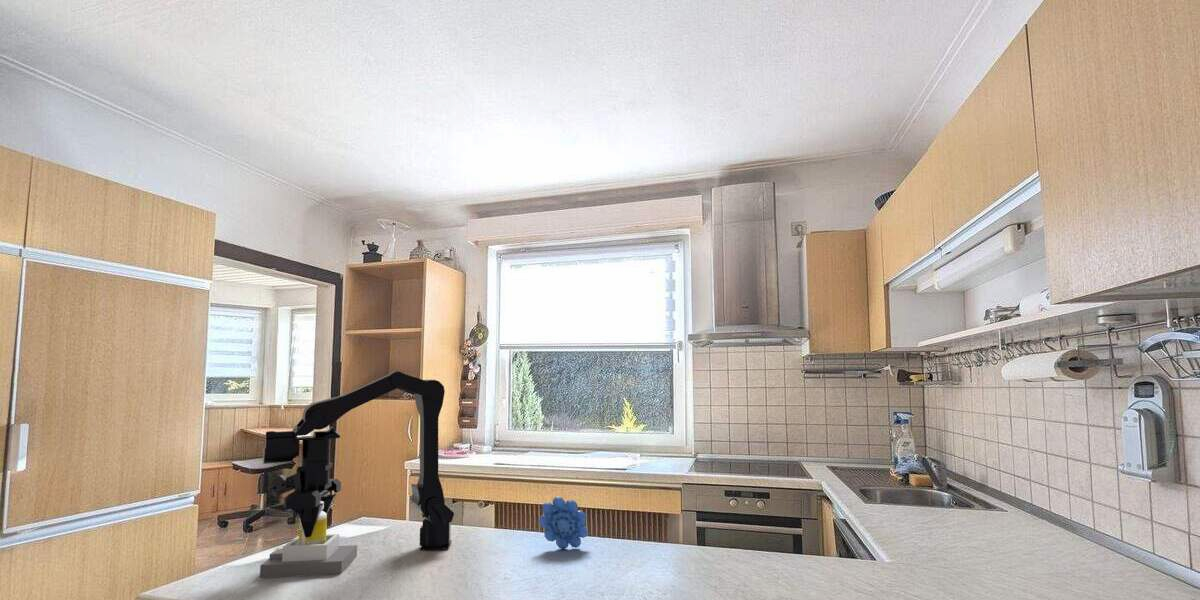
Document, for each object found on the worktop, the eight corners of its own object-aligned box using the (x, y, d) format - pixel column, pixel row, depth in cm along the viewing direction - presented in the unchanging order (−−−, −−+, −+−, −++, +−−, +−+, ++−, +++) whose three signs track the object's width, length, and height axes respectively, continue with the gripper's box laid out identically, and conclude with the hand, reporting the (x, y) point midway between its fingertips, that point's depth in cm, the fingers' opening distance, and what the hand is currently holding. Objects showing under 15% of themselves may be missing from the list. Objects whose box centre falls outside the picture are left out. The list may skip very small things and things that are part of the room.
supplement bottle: (331, 546, 133) (333, 500, 133) (312, 554, 127) (314, 506, 128) (312, 544, 134) (313, 499, 135) (292, 551, 129) (294, 504, 130)
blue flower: (537, 555, 137) (537, 500, 138) (539, 546, 144) (539, 494, 145) (588, 554, 137) (588, 499, 139) (588, 545, 144) (587, 493, 146)
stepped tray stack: (356, 556, 137) (357, 531, 138) (341, 573, 125) (342, 546, 126) (282, 560, 135) (283, 534, 136) (259, 577, 123) (261, 550, 124)
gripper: (292, 455, 141) (289, 524, 139) (258, 467, 123) (254, 547, 121) (342, 454, 143) (340, 522, 141) (316, 466, 124) (313, 544, 122)
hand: (312, 533), depth 131 cm, fingers open, 6 cm apart
